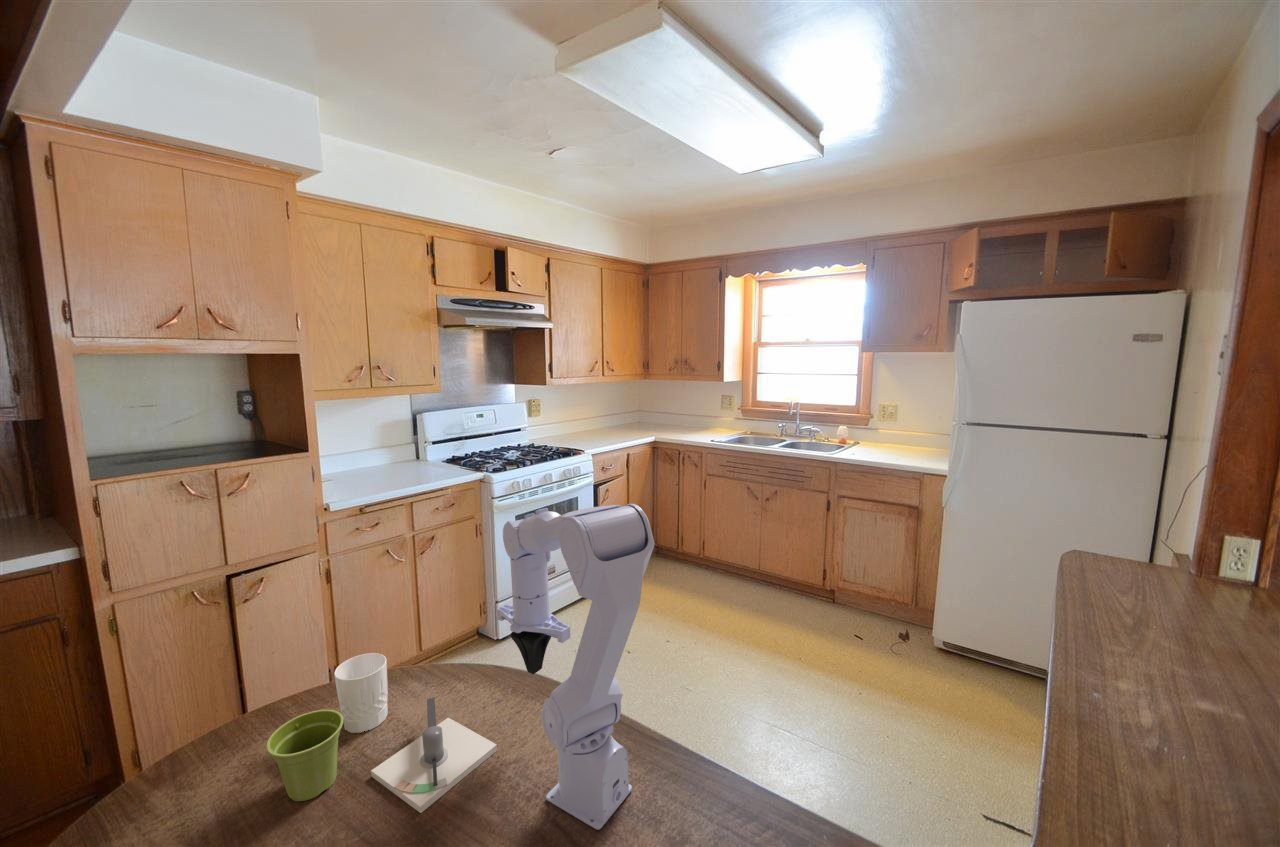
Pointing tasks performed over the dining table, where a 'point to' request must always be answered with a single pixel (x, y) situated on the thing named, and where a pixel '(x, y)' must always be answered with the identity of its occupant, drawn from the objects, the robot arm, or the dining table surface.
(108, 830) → the dining table surface
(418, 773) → the board
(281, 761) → the plant pot
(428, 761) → the grey dial pointer
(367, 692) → the white cup
